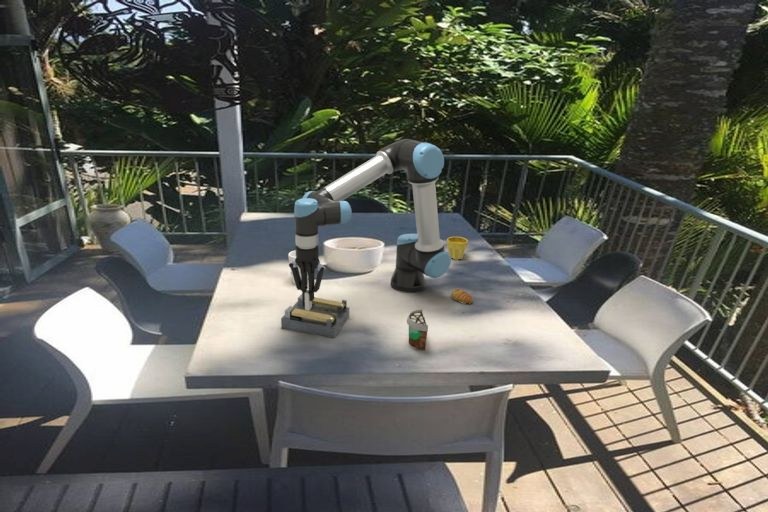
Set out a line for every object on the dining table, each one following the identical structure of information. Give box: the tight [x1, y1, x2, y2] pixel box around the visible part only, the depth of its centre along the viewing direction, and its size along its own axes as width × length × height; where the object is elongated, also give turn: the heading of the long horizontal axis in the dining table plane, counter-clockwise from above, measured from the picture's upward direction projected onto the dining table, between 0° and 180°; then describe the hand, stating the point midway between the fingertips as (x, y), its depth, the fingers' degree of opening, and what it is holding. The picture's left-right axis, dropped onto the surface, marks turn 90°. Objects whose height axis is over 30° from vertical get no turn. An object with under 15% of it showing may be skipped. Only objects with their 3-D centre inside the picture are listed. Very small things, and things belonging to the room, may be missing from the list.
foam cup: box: [288, 249, 308, 285], centre depth 207 cm, size 10×9×13 cm
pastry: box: [450, 288, 474, 305], centre depth 200 cm, size 9×7×4 cm
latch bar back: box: [304, 296, 346, 308], centre depth 180 cm, size 15×3×2 cm, turn 75°
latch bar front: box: [291, 308, 335, 322], centre depth 170 cm, size 15×3×2 cm, turn 75°
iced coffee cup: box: [406, 309, 429, 351], centre depth 166 cm, size 12×6×10 cm, turn 5°
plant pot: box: [446, 236, 469, 260], centre depth 245 cm, size 10×10×10 cm
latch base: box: [280, 293, 350, 339], centre depth 176 cm, size 20×17×7 cm
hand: (308, 308), depth 170 cm, fingers closed
